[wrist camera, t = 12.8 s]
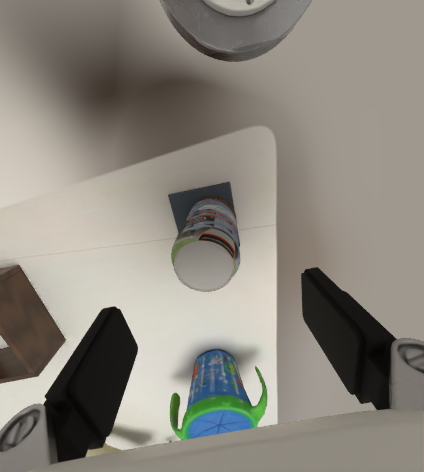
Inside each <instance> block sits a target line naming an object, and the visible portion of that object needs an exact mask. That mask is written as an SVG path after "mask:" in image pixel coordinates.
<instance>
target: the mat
mask: <svg viewBox="0 0 424 472" xmlns="http://www.w3.org/2000/svg"><path fill="white" fill-rule="evenodd" d="M168 196H169V200H170V203H171V207H172V211H173V214H174V218H175V221H176V225H177V229H178V232H179V233H180V231H181V229H182V227H183V225H184V223H185V221H186V219H187V217H188V215H189V213H190V211H191V209H192V207H193V206H194V205H195V204H196V203H197V202H198V201H199V200H201V199H203V198H206V197H218V198H221V199H223V200H225V201H227V202H228V203H229V204H230V205H231V206H232V208H233V209H234V205H233V199H232V193H231V187H230V182H227V183H222V184H217V185H213V186H208V187H203V188H198V189H194V190H189V191H184V192H179V193H175V194H170V195H168ZM237 231H238V230H237ZM238 241H239V236H238ZM239 246H240V242H239Z"/></svg>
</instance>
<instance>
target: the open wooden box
mask: <svg viewBox="0 0 424 472" xmlns="http://www.w3.org/2000/svg"><path fill="white" fill-rule="evenodd" d="M0 335H1V337H2V338H3V339H4V340H5V342H6V343H7V344H8V346H9V347H10V348H5V349H0V383H5V382H11V381H16V380H21V379H26V378H32V377H37V376H39V375H40V373H41V372H42V371H43V369H44V368H45V367H46V365H47V364H48V363H49V361H50V360H51V359H52V358H53V356H54V355H55V354H56V352H57V351H58V350H59V348H60V347H61V346H62V344H63V343H64V342H65V338H64V337H63V335H62V333H61V332H60V330H59V329H58V327H57V325H56V324H55V322H54V321H53V319H52V317H51V316H50V314H49V313H48V311H47V309H46V308H45V306H44V305H43V303H42V301H41V300H40V298H39V297H38V295H37V293H36V292H35V290H34V289H33V287H32V285H31V284H30V282H29V280H28V279H27V277H26V276H25V274H24V272H23V271H22V269H21V268H20V266H19V265H17V266H12V267H7V268H2V269H0Z"/></svg>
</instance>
